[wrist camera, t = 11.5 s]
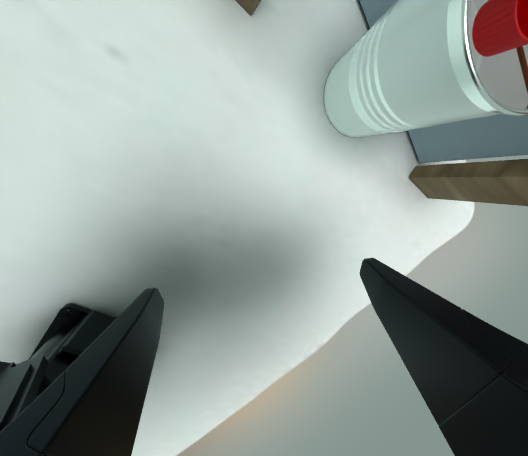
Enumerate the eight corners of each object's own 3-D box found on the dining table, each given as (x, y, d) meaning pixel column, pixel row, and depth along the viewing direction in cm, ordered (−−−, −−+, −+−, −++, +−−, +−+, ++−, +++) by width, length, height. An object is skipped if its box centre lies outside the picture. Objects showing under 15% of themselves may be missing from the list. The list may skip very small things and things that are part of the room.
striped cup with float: (291, 76, 18) (422, -78, 7) (366, 10, 18) (614, -248, 7) (350, 170, 22) (504, 168, 10) (414, 114, 22) (634, 50, 10)
